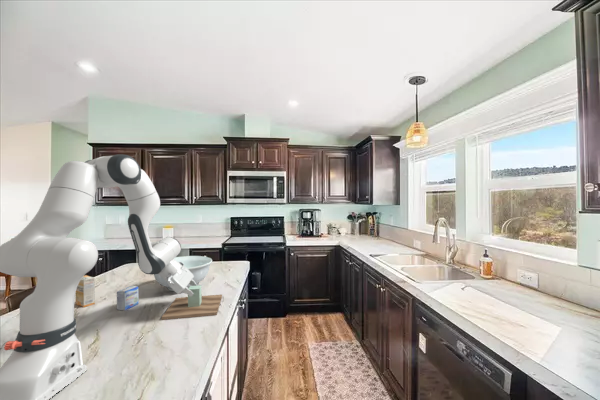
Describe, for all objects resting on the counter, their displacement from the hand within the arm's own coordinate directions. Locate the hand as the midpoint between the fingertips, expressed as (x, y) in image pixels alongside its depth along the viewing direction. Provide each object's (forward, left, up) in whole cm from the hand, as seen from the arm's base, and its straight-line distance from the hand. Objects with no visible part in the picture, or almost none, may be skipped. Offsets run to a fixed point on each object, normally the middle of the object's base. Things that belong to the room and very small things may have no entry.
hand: (194, 291), depth 120 cm
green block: (0, 0, -6) cm, 6 cm away
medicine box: (+7, +31, -8) cm, 33 cm away
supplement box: (+15, +53, -8) cm, 56 cm away
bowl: (+32, +13, -8) cm, 36 cm away
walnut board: (0, 0, -7) cm, 7 cm away
